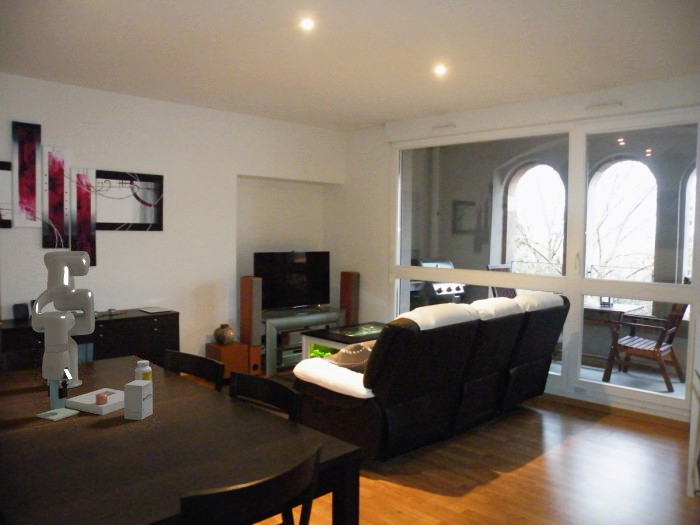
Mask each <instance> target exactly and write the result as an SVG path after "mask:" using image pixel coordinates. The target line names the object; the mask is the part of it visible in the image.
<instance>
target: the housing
mask: <svg viewBox="0 0 700 525" xmlns="http://www.w3.org/2000/svg"><path fill="white" fill-rule="evenodd" d="M100 393H106V394H107V400H108V402H107V403H105V404H96V395H97V394H100ZM65 400H66V406H65V408H67V409H72V410H77V411H82V412H87V413H91V414H96V415H101V416H104V415H106V414H109V413H112V412H115V411H119V410H121V409H123V408H124V390H120V389H119V390H118V389H113V388H108V387H103V388H101V389H100V388H99V389H97V390H94V391H90V392H88V393H84V394H79V395H77V396H73V397H70V398H68V399H65Z"/></svg>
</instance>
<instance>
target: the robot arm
mask: <svg viewBox="0 0 700 525" xmlns="http://www.w3.org/2000/svg"><path fill="white" fill-rule="evenodd" d="M43 263H44V265H45V269H46V270H47V283H46V289H45V290H44V291H43V292H42V293H40V294H39V295H38V297H37V298H36V299H35V301H34V302H33V306H32V309H31V310H32V312H31V328H32V330H34V331H35V332H37V333H44V353H43V355H42V356H43V357H42V367H41V368H42V370H41V371H42V372H41V374H42V375H41V376H42V378H43V379H44V380H45V382H46V386H47V396H48V398H50V380H55V381H58V382H59V387H60V388H58V398H59V399H62V398H65V399H66V398H67V397H68V389H72V388H77V387H80V386H81V385H82V384H83V380H81V379H79V366H78V365H79V364H78V362H79V360H78V357H79V356H78V344H77V342H76V340H74V338H72V337H71V336H83V335H85V336H86V335H90V334H92V333H94V331H95V325H96V320H95V319H96V318H95V297H94V292H93V291H92V290H91V289H88V288H76V286H75V285H76V284H75V281H76V280H75V277H84V276H87V275H88V273H89V270H90V265H91V257H90V255H89V253H88V252H87V251H84V250H57V251H55V250H54V251H48V252H47V253H45V254H44V255H43ZM51 303H53V307H54V309H55V310H56V311H42V310H43V309H44V308H45V306H47V305H49V304H51ZM77 311H78V313H72V312H77ZM79 311H81V313H79ZM63 377H65V378H64V379H63ZM63 380H64V382H63V383H62V381H63Z"/></svg>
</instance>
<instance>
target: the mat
mask: <svg viewBox="0 0 700 525" xmlns="http://www.w3.org/2000/svg"><path fill="white" fill-rule="evenodd" d="M77 414H80V410H76V409H72V408H67V407H64V408H61V409H51V410H48V411H45V412H42V413H38V414H36V417H37V418H41V419H45V420H50V421H52V422H54V421H58V420H61V419H64V418H67V417H70V416H74V415H77Z"/></svg>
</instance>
